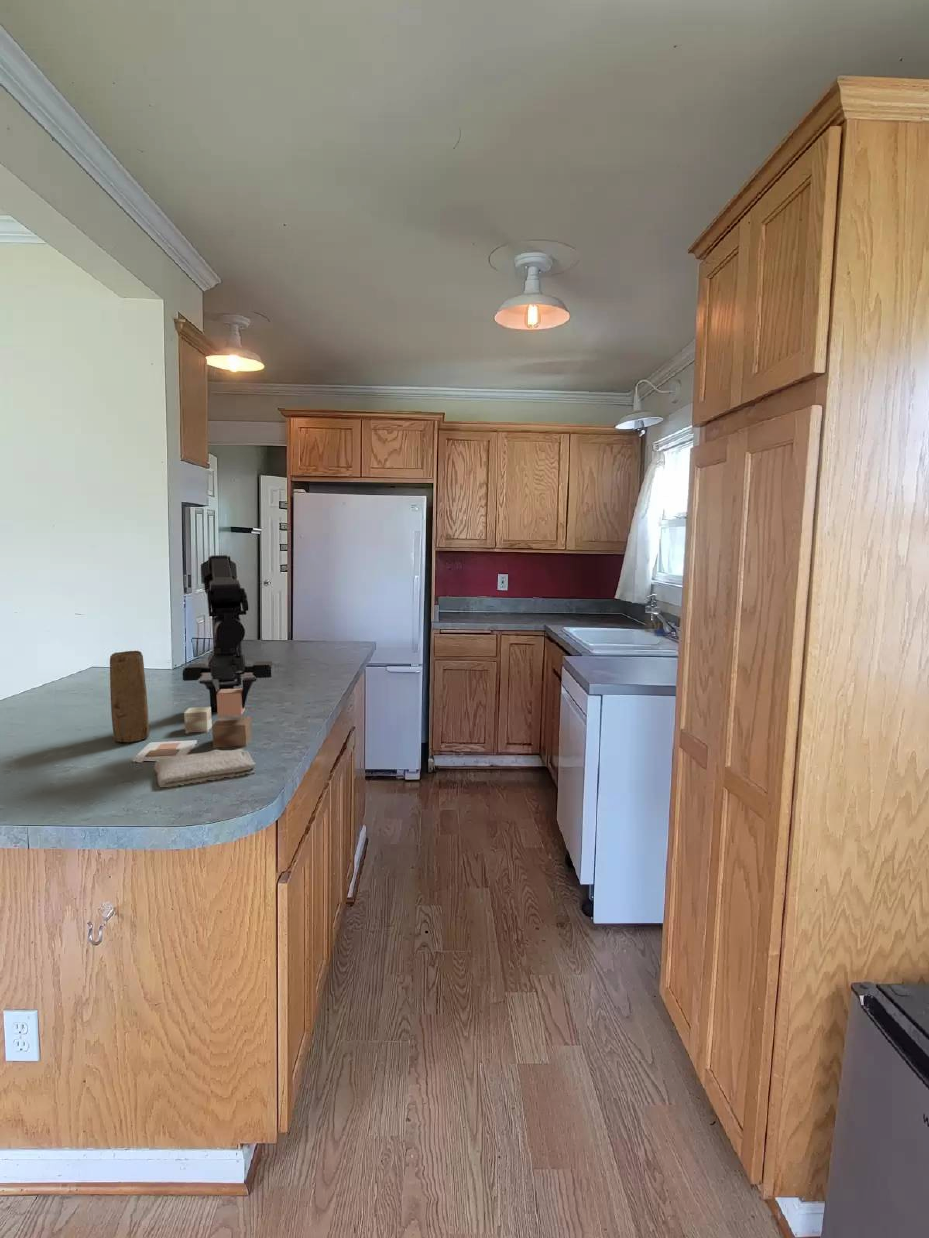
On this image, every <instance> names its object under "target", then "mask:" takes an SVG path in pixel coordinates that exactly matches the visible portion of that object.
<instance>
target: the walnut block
mask: <svg viewBox="0 0 929 1238" xmlns="http://www.w3.org/2000/svg"><path fill="white" fill-rule="evenodd" d="M251 718H252V717H251V716H240V717H239V716H237V717H236V716H232V717H219V718H218V719H217V720H216V722H215V723H214V724H212V727H211V731H212V732H211V733H212V747H213V749H216V748H215V747H221V748H231V747H230V746H241V747H247V746H248V744H249V743H248V742H250V741H251V738H252V737H253V735H252V719H251ZM249 740H250V741H249ZM228 746H229V747H228Z"/></svg>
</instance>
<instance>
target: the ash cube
mask: <svg viewBox="0 0 929 1238" xmlns="http://www.w3.org/2000/svg"><path fill="white" fill-rule="evenodd" d="M183 714H184V715H183V716H184V732H185V734H190V733H189V732H201V733H208V732H209V731H210V730H211V729H212V726H213V723H212V722H213V721H212V711H211V707H210V706H198V707H197V706H196V707H188V709H187V710H186V711H184V712H183ZM209 729H210V730H209Z"/></svg>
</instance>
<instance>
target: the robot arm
mask: <svg viewBox="0 0 929 1238" xmlns="http://www.w3.org/2000/svg"><path fill="white" fill-rule="evenodd" d="M207 558H208V559H207V560H206V561H204V562H203V563H201V564H200V582H201V583H200V584H203V587H204V593H206V600H207V601H206V602H207V610H208V617H211V629H212V650H211V652H210V653H209V654H208V657H207V664H206V663H205V662H204V663H190V664H188V665H187V666H185V667H184V668H183V670H182V672H181V673H182V681H185V682H187V681H188V682H190V681H198V680H199V681H198V683H199V684H201V685H204V686H205V689H206V690H208V691H209V707H211V712H217V693H218V692H219V691H220V690H221V689H237V687H240V686H241V685H242V688H243V691H242V707H243V708H245V709H246V703H247V701H248V698H249V693H250V691H251V688H252V686H253V683H255V682H258V680H259V679H265V678H267V679H269V678H272V676H273V675H274V674H275V665H274V662H273V661H272V660H265V661H263V660H262V661H255V662H254V663H253V664H252V665H246V664H247V663H246V658H245V655H244V654H243V640H244V638H245V635H246V629H245V627H244V625H243V623H241V617H240V616H243V615H244V616H246V615H247V612H248V611H249V601H248V595H247V592H246V591H245V588H244V587H241V584H240V581H239V580H238V579H237V578H238V575H237V564H236V562H234V561H232V559H231V556H230V555H225V554H224V555H222V554H221V555H220V554H219V555H217V554H216V555H210V556H208V557H207ZM242 675H244V678H243V679H242Z"/></svg>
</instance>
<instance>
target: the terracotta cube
mask: <svg viewBox="0 0 929 1238" xmlns="http://www.w3.org/2000/svg"><path fill="white" fill-rule="evenodd" d="M242 691H243V687H242V688H236V689H221V690H220V691H219V692H218V693H217V711H216V712H217V717H231V716H232V717H236V716H237V717H239V716H242V715H243V713H244V712H245V711H246V707H245V708H243V707H242Z"/></svg>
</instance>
